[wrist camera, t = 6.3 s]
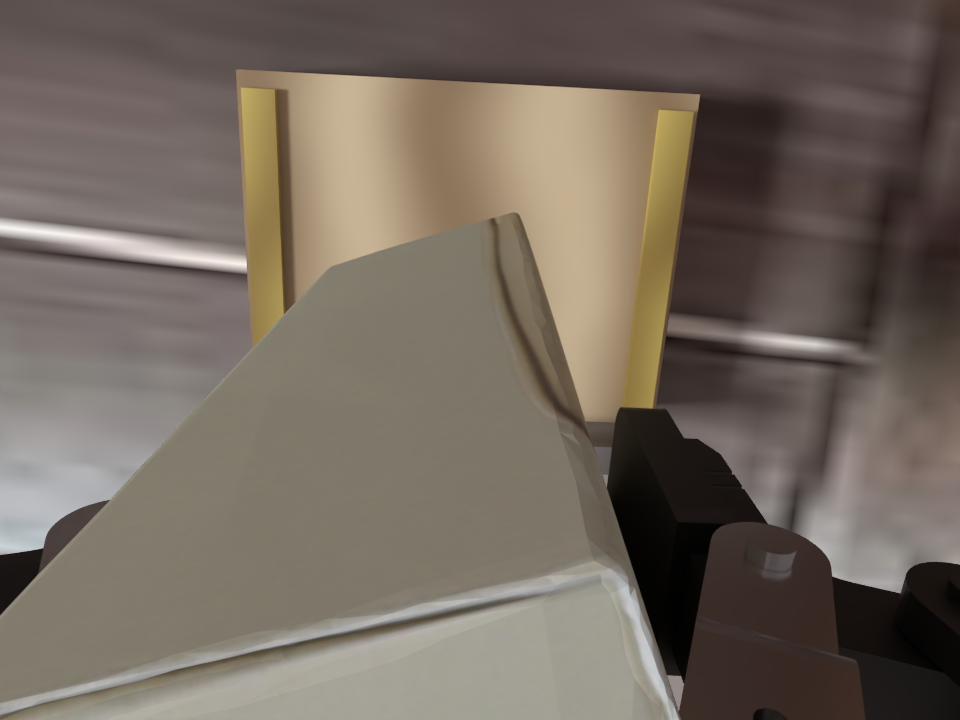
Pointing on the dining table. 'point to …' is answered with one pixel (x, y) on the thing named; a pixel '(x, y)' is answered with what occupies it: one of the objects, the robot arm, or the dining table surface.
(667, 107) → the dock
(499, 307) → the skincare box
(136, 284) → the dining table surface
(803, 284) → the dining table surface
